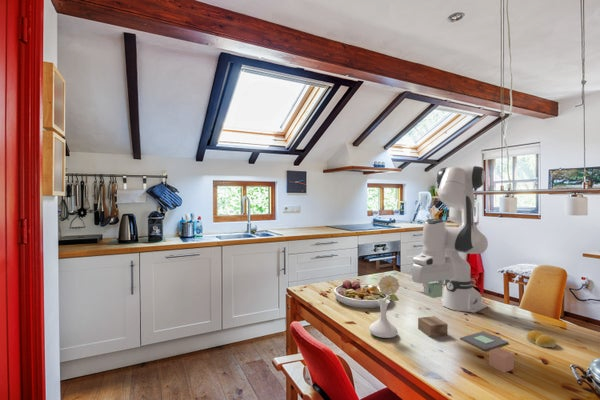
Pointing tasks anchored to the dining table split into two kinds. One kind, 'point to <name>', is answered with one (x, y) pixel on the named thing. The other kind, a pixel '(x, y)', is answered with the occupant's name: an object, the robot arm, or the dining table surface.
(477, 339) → the card
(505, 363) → the terracotta block
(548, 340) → the bread roll
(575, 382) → the dining table surface
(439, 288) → the green block
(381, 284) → the flower in vase
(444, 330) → the walnut base block
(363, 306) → the bowl
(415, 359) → the dining table surface
